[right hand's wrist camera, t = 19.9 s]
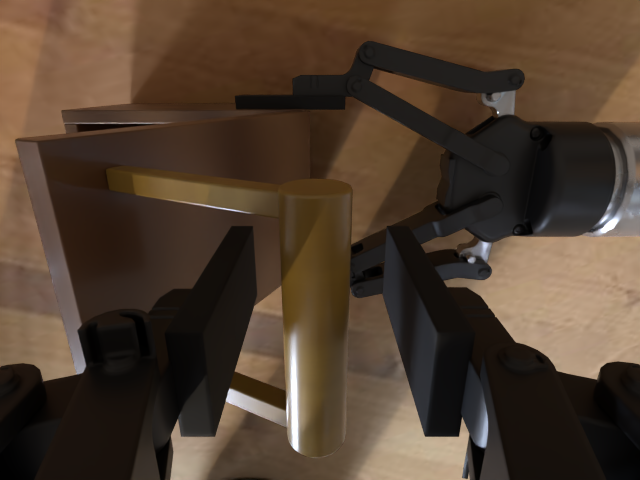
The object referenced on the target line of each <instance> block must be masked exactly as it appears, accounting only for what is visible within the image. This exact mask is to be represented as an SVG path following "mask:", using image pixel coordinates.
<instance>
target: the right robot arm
mask: <svg viewBox="0 0 640 480" xmlns="http://www.w3.org/2000/svg"><path fill="white" fill-rule="evenodd" d="M256 298H257V281H256V265H255V249H254V233H253V226H231V228H230V229H229V231H228V232H227V234H226V236H225V237H224V239H223V240H222V242H221V244H220V245H219V247H218V248H217V250H216V251H215V253H214V255H213V256H212V258H211V259H210V261H209V263H208V264H207V266H206V267H205V269H204V271H203V272H202V274H201V275H200V277H199V278H198V280H197V282H196V283H195V285H194V286H193V288H192V289H172V290H171V291H169V292H168V293H166V294H165V295H163V296H161V297H160V298H159V299H158V301H157V302H156V303H155V305H154V306H153V307H152V310H150V311H149V313H146V312H145V311H143V310H139V309H118V310H113V311H108V312H105V313H103V314H100V315H97V316H95V317H93V318H91V319H90V320H88V321H86V322H85V323H83V325H82V326H81V327H80V328H79V329H78V330H77V332H78V336H79V340H80V344H81V348H82V352H83V356H84V359H85V363H86V367H85V369H84V372H83V373H81V374H77V375H73V376H68V377H63V378H58V379H54V380H49V381H44V382H43V379H42V375H41V372H40V369H38V368H37V367H36V366H34V365H31V364H24V363H21V364H13V365H6V366H1V367H0V480H170V477H171V468H172V459H173V447H172V440H171V433H172V431H173V429H174V426H175V424H176V422H177V419H178V420H179V426H180V433H181V437H215V435H216V432H217V428H218V425H219V421H220V418H221V415H222V411H223V408H224V405H225V401H226V398H227V395H228V391H229V388H230V385H231V381H232V378H233V375H234V371H235V368H236V365H237V361H238V358H239V355H240V351H241V348H242V345H243V341H244V338H245V334H246V331H247V328H248V324H249V321H250V318H251V314H252V311H253V308H254V304H255V301H256ZM383 298H384V301H385V304H386V308H387V311H388V314H389V318H390V321H391V324H392V328H393V331H394V335H395V338H396V341H397V345H398V348H399V351H400V355H401V358H402V361H403V365H404V368H405V371H406V375H407V378H408V381H409V385H410V388H411V391H412V395H413V398H414V401H415V405H416V408H417V411H418V415H419V418H420V421H421V425H422V428H423V432H424V435H425V437H459V433H460V426H461V420H462V417H463V420H464V422H465V424H466V427H467V429H468V431H469V433H470V435H469V440H468V446H467V452H466V458H465V463H464V469H463V476H462V478H466V479H468V474H469V476H470V480H640V365H639V364H634V363H626V362H611V363H606V364H605V365H604V366H602V367H601V369H600V372H599V375H598V379H597V380H595V379H590V378H586V377H581V376H576V375H571V374H566V373H562V372H558V371H556V369H555V366H554V365H553V363H552V362H551V361H550V360H549V358H548V357H547V356H545V355H544V354H542V353H541V352H540V351H538V350H536V349H534V348H532V347H529V346H527V345H524V344H520V343H516V342H515V341H514V340H513V338H512V337H511V336H510V334H509V333H508V332H507V331H506V329H505V328H504V327H503V325H502V324H501V323H500V321H499V320H498V319H497V317H495V315H494V313H493V312H492V311H491V309H488V306H487V304H486V303H485V302H484V300H483V299H482V298H481V296H479V295H478V294H476V293H475V292H473V291H471V290H470V289H468V288H467V287H447V286H446V285H445V283H444V282H443V280H442V278H441V277H440V275H439V274H438V272H437V271H436V269H435V267H434V266H433V264H432V263H431V261H430V259H429V258H428V256H427V255H426V253H425V251H424V250H423V248H422V247H421V245H420V244H419V242H418V240H417V239H416V237H415V236H414V234H413V232H412V231H411V229H410V228H409V226H387V233H386V249H385V265H384V281H383Z"/></svg>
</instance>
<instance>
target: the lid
mask: <svg viewBox="0 0 640 480" xmlns="http://www.w3.org/2000/svg"><path fill="white" fill-rule="evenodd" d="M15 142H16V146H17V150H18V154H19V157H20V161H21V165H22V169H23V173H24V176H25V180H26V184H27V188H28V191H29V195H30V199H31V203H32V207H33V210H34V214H35V218H36V222H37V225H38V229H39V233H40V237H41V241H42V244H43V248H44V252H45V256H46V259H47V263H48V267H49V271H50V275H51V278H52V282H53V286H54V290H55V293H56V297H57V301H58V305H59V309H60V312H61V316H62V320H63V324H64V327H65V331H66V335H67V339H68V343H69V346H70V350H71V354H72V358H73V361H74V365H75V369H76V373H77V374H81V373H83V372H84V369H85V367H86V363H85V359H84V356H83V352H82V348H81V344H80V340H79V336H78V332H77V330H78V329H79V328H80V327H81V326H82V325H83V323H85V322H86V321H88V320H90V319H91V318H93V317H95V316H97V315H100V314H103V313H105V312H108V311H113V310H118V309H139V310H143V311H145V312H146V313H149V311H150V310H152V307H153V306H154V305H155V303H156V302H157V301H158V299H159V298H160V297H161V296H163V295H165V294H166V293H168V292H169V291H171V290H172V289H192V288H193V286H194V285H195V283H196V282H197V280H198V278H199V277H200V275H201V274H202V272H203V271H204V269H205V267H206V266H207V264H208V263H209V261H210V259H211V258H212V256H213V255H214V253H215V251H216V250H217V248H218V247H219V245H220V244H221V242H222V240H223V239H224V237H225V236H226V234H227V232H228V231H229V229H230V228H231V226H253V233H254V249H255V265H256V281H257V298H256V301H255V304H254V306H255V305H256V304H257V303H259V302H260V301H261V300H263V299H264V298H265V297H267V296H268V295H269V294H271V293H272V292H273V291H275V290H276V289H277V288H278V287H280V286H281V285H282V310H283V336H284V361H285V387H286V391H284V390H282V389H279V388H276V387H274V386H271V385H269V384H266V383H263V382H261V381H258V380H256V379H253V378H250V377H248V376H245V375H242V374H240V373H237V372H235V371H234V375H233V378H232V381H231V385H230V388H229V391H228V395H227V398H226V401H225V402H228V403H230V404H232V405H235V406H237V407H239V408H242V409H244V410H246V411H249V412H251V413H253V414H256V415H258V416H260V417H263V418H265V419H267V420H270V421H272V422H274V423H277V424H279V425H281V426H284V427H286V428H287V436H288V440H289V443H290V444H291V446H292V447H293V449H294V450H295V451H297V452H298V453H300V454H301V455H304V456H306V457H311V458H322V457H326V456H329V455H331V454H333V453H335V452H336V451H337V450H338V449H339V448H340V447H341V445H342V444H343V442H344V440H345V435H346V403H347V367H348V332H349V296H350V261H351V225H352V187H351V186H350V185H349V184H347V183H344V182H341V181H337V180H331V179H310V111H296V110H293V111H284V112H274V113H264V114H254V115H244V116H234V117H225V118H215V119H205V120H195V121H185V122H176V123H166V124H156V125H146V126H136V127H126V128H117V129H107V130H97V131H87V132H77V133H68V134H58V135H48V136H38V137H28V138H18V139H16V140H15Z"/></svg>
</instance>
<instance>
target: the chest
mask: <svg viewBox="0 0 640 480" xmlns="http://www.w3.org/2000/svg"><path fill="white" fill-rule="evenodd" d="M293 110H296V111H307V109H236V104H121V105H111V106H101V107H90V108H80V109H70V110H62V111H61V112H62V117H63V121H64V123H65V130H66V134H68V133H77V132H87V131H97V130H107V129H117V128H126V127H136V126H146V125H156V124H166V123H176V122H185V121H195V120H205V119H215V118H225V117H234V116H244V115H254V114H264V113H274V112H284V111H293Z"/></svg>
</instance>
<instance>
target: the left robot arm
mask: <svg viewBox="0 0 640 480" xmlns="http://www.w3.org/2000/svg"><path fill="white" fill-rule="evenodd" d="M373 69H377V70H381V71H385V72H388V73H392V74H396V75H400V76H403V77H407V78H411V79H415V80H418V81H422V82H426V83H430V84H433V85H437V86H441V87H445V88H448V89H452V90H456V91H460V92H467V93H476V100H477V102H478V103H479V104H480V105H483V106H488V107H489V108H490V109H491V110H492V114H493V116H491V117H489V118H488V119H487V120H485V121H484V122H482V123H481V124H479V125H478V126H476V127H475V128H473V129H472V130H470V131H469V132H467V133H466V134H463V133H461V132H460V131H458V130H456V129H454V128H452V127H450V126H448V125H446V124H444V123H443V122H441V121H439V120H437V119H436V118H434V117H432V116H430V115H429V114H427V113H425V112H423V111H422V110H420V109H418V108H416V107H415V106H413V105H411V104H409V103H408V102H406V101H404V100H402V99H401V98H399V97H397V96H395V95H394V94H392V93H390V92H388V91H386V90H385V89H383V88H381V87H379V86H378V85H376V84H374V83H372V82H371V81H369V79H370V76H371V74H372V71H373ZM524 80H525V77H524V73H523V72H522V71H521V70H519V69H507V70H496V71H487V72H483V71H479V70H476V69H472V68H468V67H465V66H461V65H457V64H454V63H450V62H446V61H443V60H439V59H435V58H432V57H428V56H424V55H421V54H417V53H413V52H410V51H406V50H402V49H399V48H395V47H391V46H388V45H384V44H380V43H377V42H373V41H367V42H365V43H363V44H362V45H361V46H360V47H359V48H358V49H357V52H356V55H355V58H354V60H353V63H352V66H351V68H350V70H349V71H348V72H347V73H346V74H344V75H300V76H298V77H296V78H293V95H239V96H235V102H236V109H328V110H345V97H354V98H356V99H357V100H359V101H361V102H363V103H365V104H366V105H368V106H370V107H372V108H374V109H375V110H377V111H379V112H381V113H383V114H384V115H386V116H388V117H390V118H392V119H393V120H395V121H397V122H399V123H401V124H402V125H404V126H406V127H408V128H409V129H411V130H413V131H415V132H417V133H418V134H420V135H422V136H424V137H426V138H427V139H429V140H431V141H433V142H434V143H436V144H438V145H440V146H442V147H443V148H445V149H446V151H445V153H444V154H441V159H440V170H441V176H442V177H441V180H440V183H439V185H438V188H437V197H436V199H437V200H438V201H437V202H435V203H433V204H430V205H428V206H427V207H425V208H424V209H423V211H421V212H419V213H417V214H415V215H413V216H411V217H409V218H407V219H405V220H402V221H400V222H398V223H396V224H394V225H392V226H409V228H410V229H411V231H412V232H413V234H414V236H415V237H416V239H417V240H418V242H419V244H420V245H421V244H423V243H425V242H427V241H429V240H431V239H434V238H436V237H445V236H448V235H450V234H452V233H455V232H457V231H459V230H461V229H463V228H465V229H466V230H467V231H469V232H470V233H471V234H473V235H474V238H473V240H472V241H470V242H469V243H464V244H459V245H458V246H457V249H445V250H439V251H434V252H430V253H426V255H427V256H428V258H429V259H430V261H431V263H432V264H433V266H434V267H435V269H436V271H437V272H438V274H439V275H440V277H441V278H442V280H443V281H444V280H448V279H453V278H467V279H477V280H485V279H487V278H488V277H490V275H491V273H492V269H491V267H490V266H489V265H488V264H487V261H488V257H489V254H490V250H491V247H492V243H493V242H496V241H499V240H501V239H503V238H505V237H509V236H528V237H574V236H579V235H583V236H588V237H625V236H640V122H597V123H594V124H592V123H588V122H526V121H524V120H522V119H520V118H519V117H517V116H515V115H514V110H515V93H516V90H518V89H519V88H520V87H521V86H522V85H523V83H524ZM386 233H387V228H386V229H383V230H381V231H379V232H377V233H375V234H373V235H371V236H369V237H366V238H364V239H362V240H360V241H358V242H356V243H354V244H352V245H351V261H350V288H351V292H352V295H353V296H355V297H357V298H363V297H368V296H372V295H377V294H382V293H383V281H384V265H385V262H384V263H381V262H383V261H385V249H386ZM243 480H255V479H243Z"/></svg>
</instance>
